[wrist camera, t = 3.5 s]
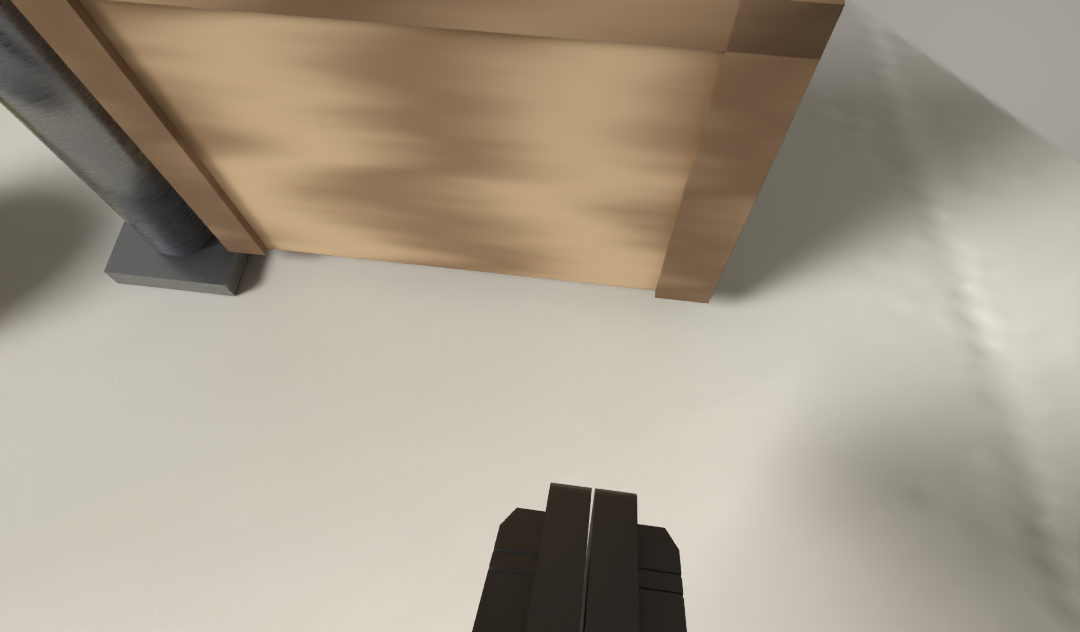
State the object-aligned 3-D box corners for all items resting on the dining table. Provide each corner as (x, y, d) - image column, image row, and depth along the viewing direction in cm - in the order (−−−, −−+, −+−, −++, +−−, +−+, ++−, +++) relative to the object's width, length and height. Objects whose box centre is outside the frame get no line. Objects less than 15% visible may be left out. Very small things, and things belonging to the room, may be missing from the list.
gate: (228, 251, 23) (-46, -65, 13) (246, 197, 24) (2, -142, 13) (708, 303, 22) (844, 4, 12) (710, 245, 23) (840, -85, 12)
